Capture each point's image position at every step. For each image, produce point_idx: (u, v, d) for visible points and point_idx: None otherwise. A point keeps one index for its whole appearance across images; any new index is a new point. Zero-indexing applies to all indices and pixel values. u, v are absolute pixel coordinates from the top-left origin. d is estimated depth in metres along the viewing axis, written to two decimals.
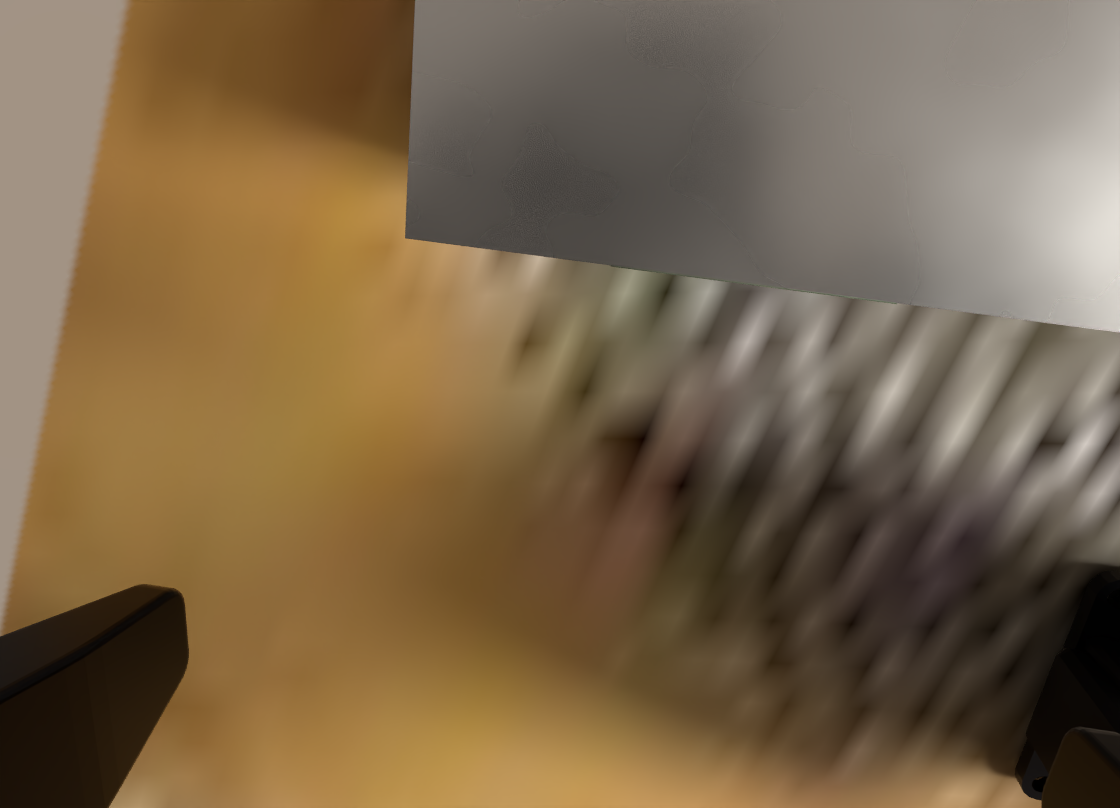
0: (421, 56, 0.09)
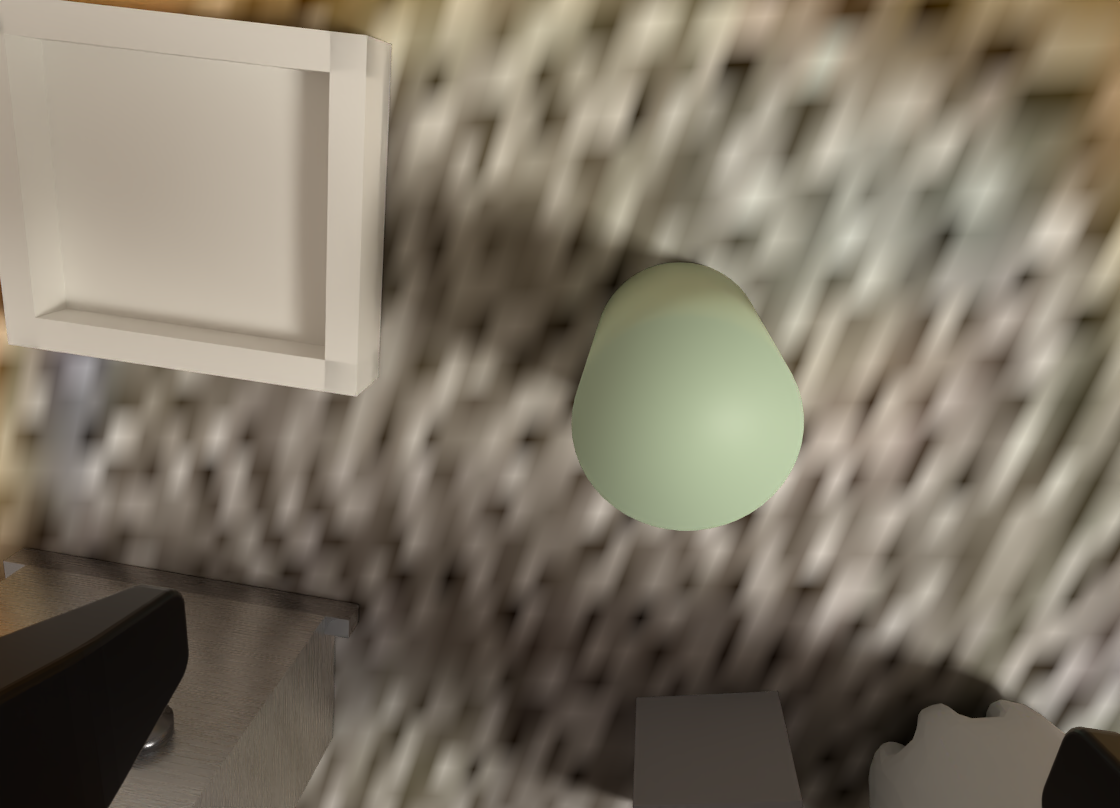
0: None
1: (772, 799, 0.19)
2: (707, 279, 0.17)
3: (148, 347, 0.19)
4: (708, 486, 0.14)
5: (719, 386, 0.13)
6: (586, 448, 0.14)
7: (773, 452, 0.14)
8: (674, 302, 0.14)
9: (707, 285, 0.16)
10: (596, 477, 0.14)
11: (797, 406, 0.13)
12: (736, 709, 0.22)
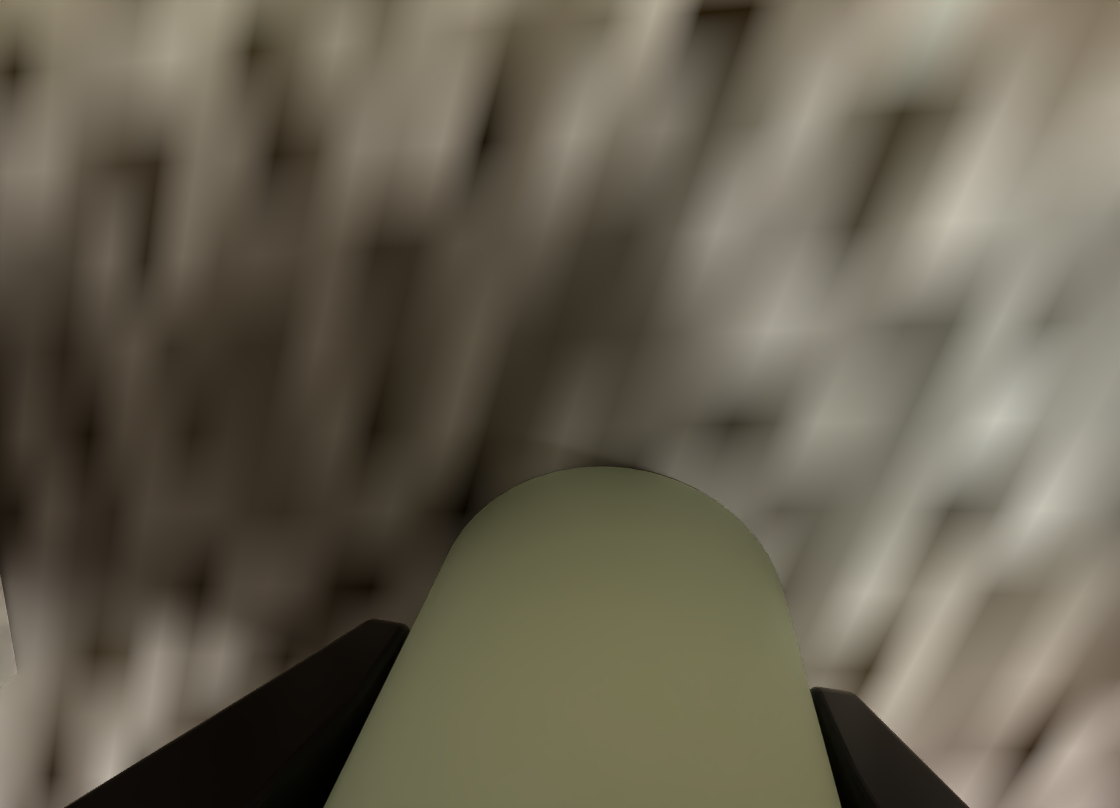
0: None
1: None
2: (652, 580, 0.06)
3: None
4: None
5: None
6: None
7: None
8: None
9: (645, 636, 0.06)
10: None
11: None
12: None
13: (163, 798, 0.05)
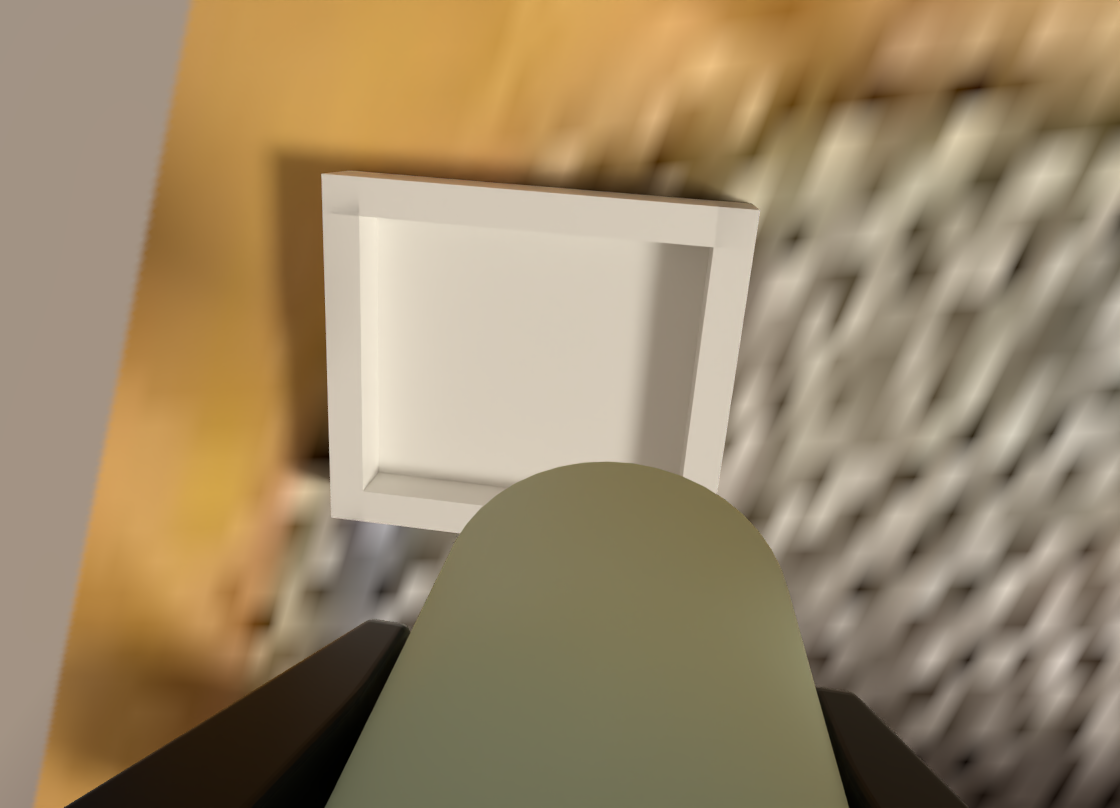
0: None
1: None
2: (657, 574, 0.06)
3: None
4: None
5: None
6: None
7: None
8: None
9: (651, 630, 0.06)
10: None
11: None
12: None
13: (162, 798, 0.05)
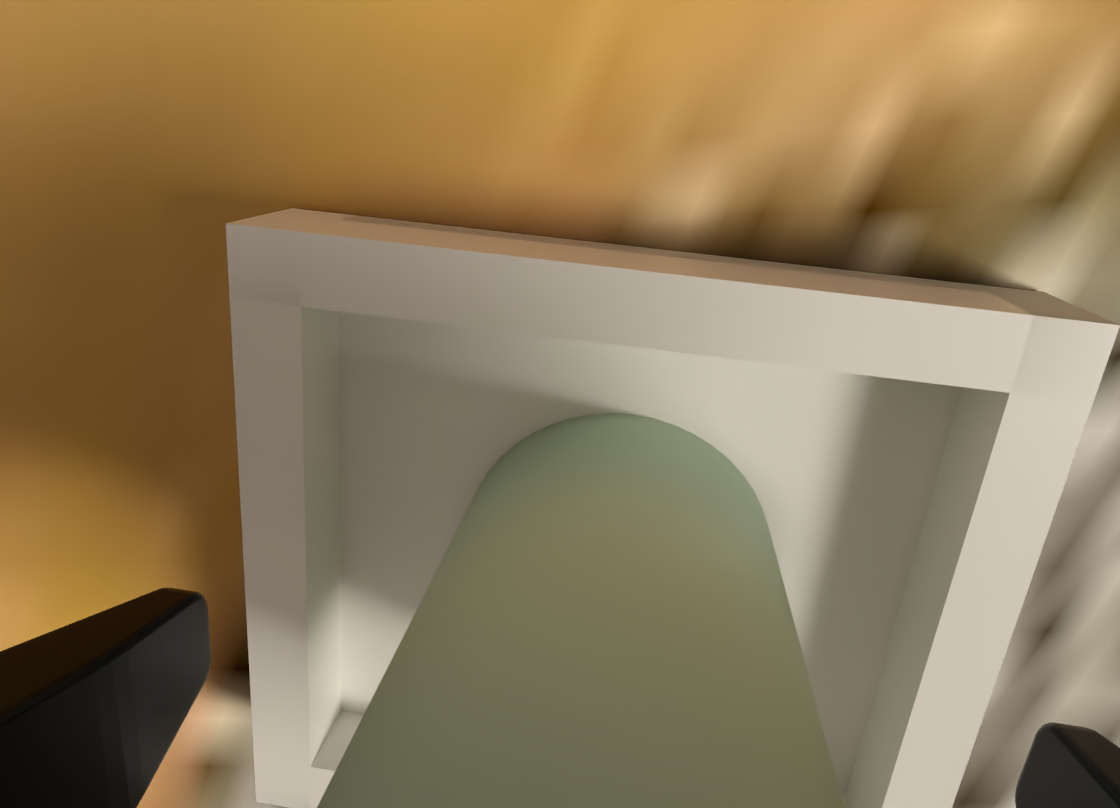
0: None
1: None
2: (654, 493, 0.08)
3: None
4: None
5: None
6: None
7: None
8: (533, 672, 0.05)
9: (648, 530, 0.07)
10: None
11: None
12: None
13: None
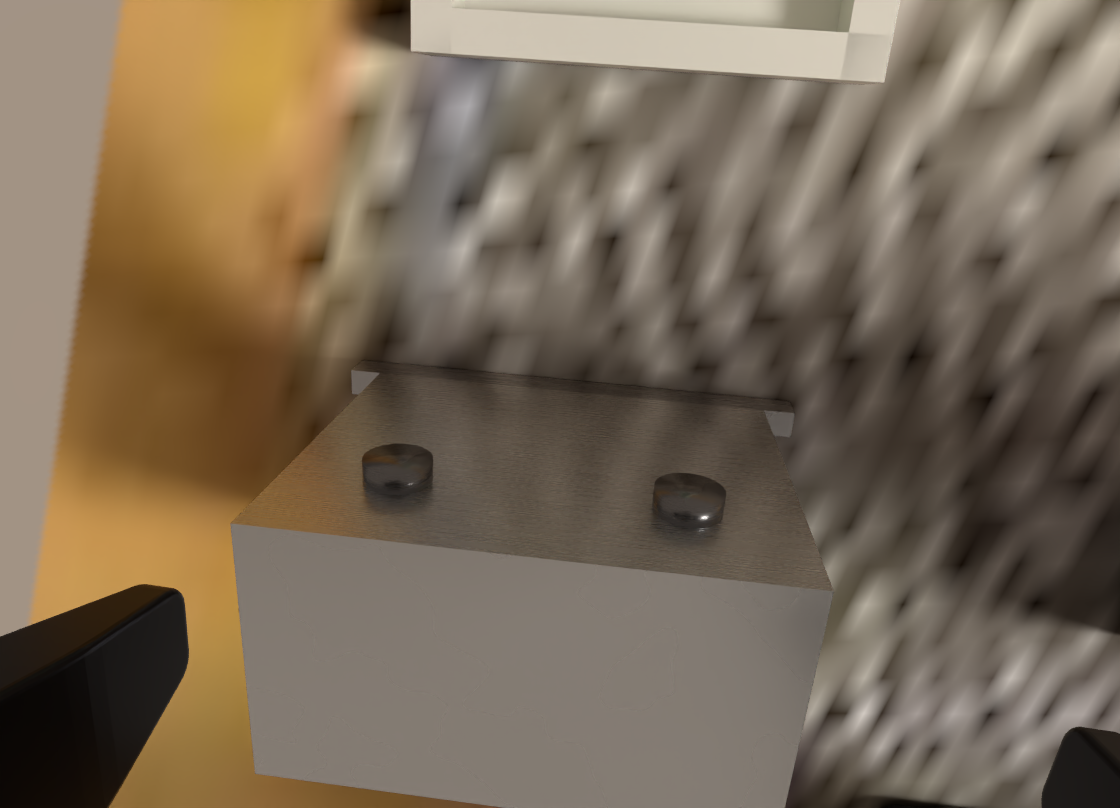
0: (251, 678, 0.13)
1: None
2: None
3: (603, 37, 0.15)
4: None
5: None
6: None
7: None
8: None
9: None
10: None
11: None
12: None
13: None
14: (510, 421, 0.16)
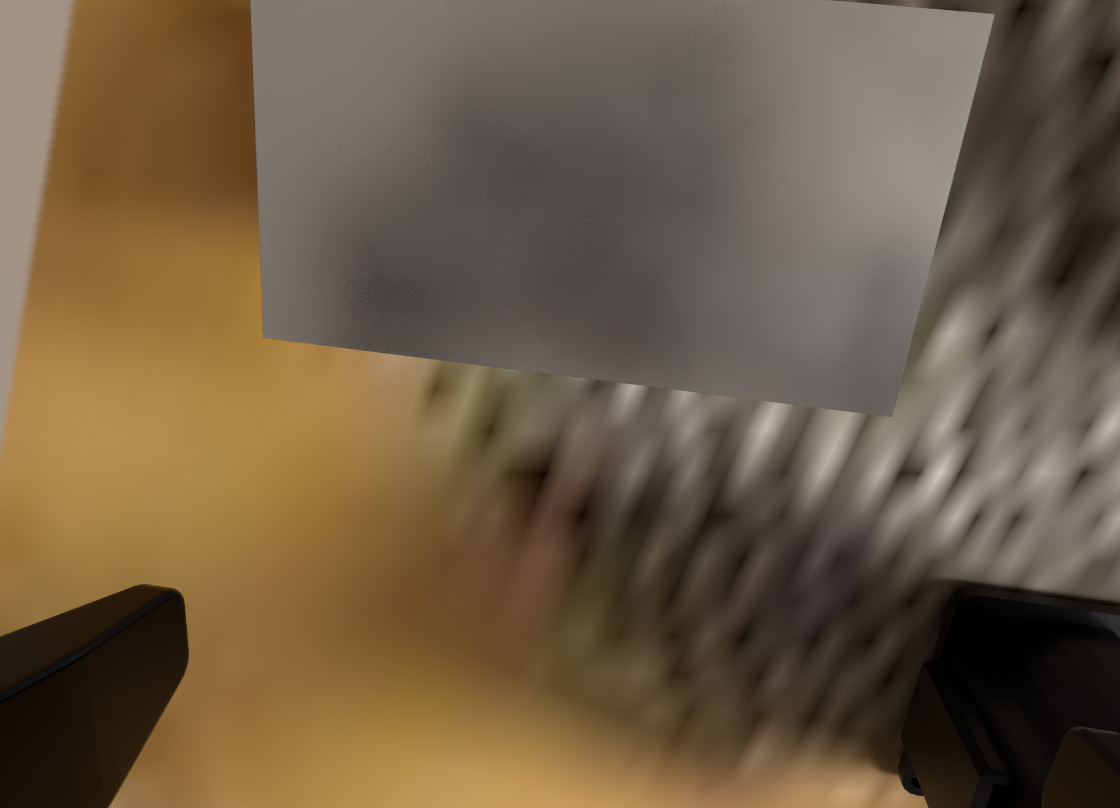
0: (264, 192, 0.11)
1: None
2: None
3: None
4: None
5: None
6: None
7: None
8: None
9: None
10: None
11: None
12: None
13: None
14: None
